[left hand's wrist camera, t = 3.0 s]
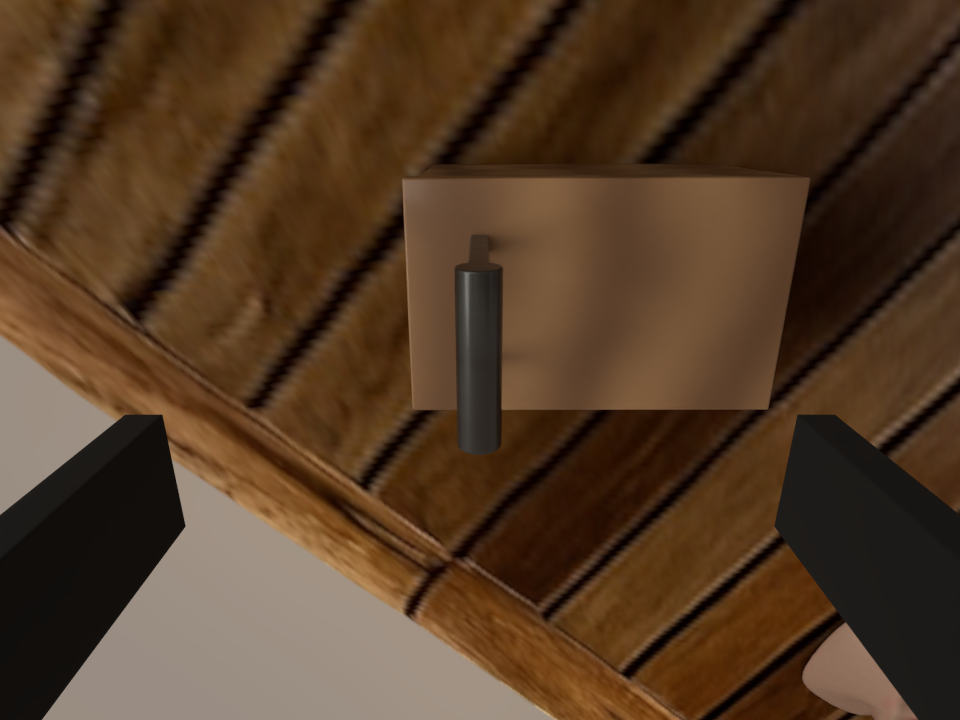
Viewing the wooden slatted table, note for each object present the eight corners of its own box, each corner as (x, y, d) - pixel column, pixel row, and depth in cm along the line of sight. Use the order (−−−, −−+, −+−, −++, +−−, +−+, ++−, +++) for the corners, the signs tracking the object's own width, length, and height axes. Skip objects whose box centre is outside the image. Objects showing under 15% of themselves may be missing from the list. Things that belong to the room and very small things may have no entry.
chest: (439, 336, 37) (425, 402, 28) (434, 164, 33) (417, 176, 24) (692, 335, 37) (760, 401, 28) (714, 163, 33) (800, 175, 24)
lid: (414, 402, 28) (388, 509, 20) (404, 176, 24) (367, 197, 16) (760, 402, 28) (871, 509, 20) (801, 175, 24) (954, 197, 16)
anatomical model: (812, 751, 43) (876, 628, 39) (786, 702, 47) (842, 586, 43) (985, 772, 44) (1065, 655, 40) (946, 723, 48) (1015, 610, 44)
